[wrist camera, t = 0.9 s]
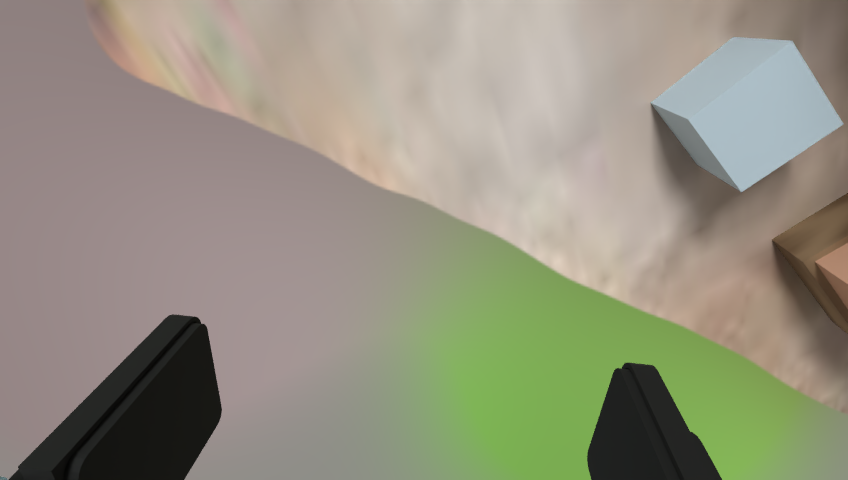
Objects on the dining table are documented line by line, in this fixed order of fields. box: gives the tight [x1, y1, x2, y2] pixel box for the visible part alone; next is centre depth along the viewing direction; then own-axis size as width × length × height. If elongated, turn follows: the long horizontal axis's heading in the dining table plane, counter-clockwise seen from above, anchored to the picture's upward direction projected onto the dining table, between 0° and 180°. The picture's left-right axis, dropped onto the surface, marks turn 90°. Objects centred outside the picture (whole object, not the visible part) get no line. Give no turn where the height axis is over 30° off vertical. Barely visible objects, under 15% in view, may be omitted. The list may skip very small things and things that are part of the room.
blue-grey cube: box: [651, 37, 843, 192], centre depth 29 cm, size 6×6×6 cm
